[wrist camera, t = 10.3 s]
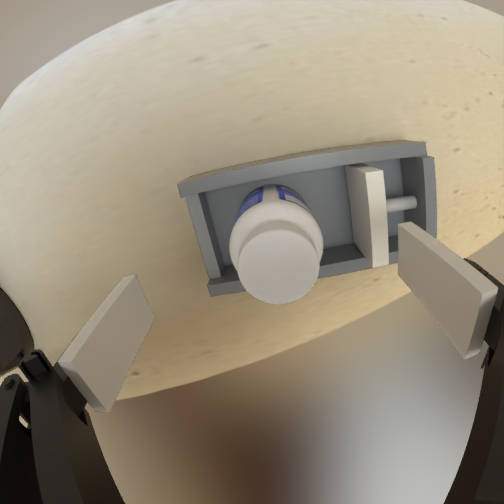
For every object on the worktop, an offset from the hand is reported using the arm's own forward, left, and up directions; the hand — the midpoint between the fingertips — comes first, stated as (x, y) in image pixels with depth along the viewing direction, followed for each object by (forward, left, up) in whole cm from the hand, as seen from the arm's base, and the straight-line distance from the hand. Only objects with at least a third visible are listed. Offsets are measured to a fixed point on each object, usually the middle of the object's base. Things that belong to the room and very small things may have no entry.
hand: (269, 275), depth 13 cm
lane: (+3, 0, -11) cm, 11 cm away
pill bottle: (0, 0, -10) cm, 10 cm away
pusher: (+9, 0, -10) cm, 13 cm away
